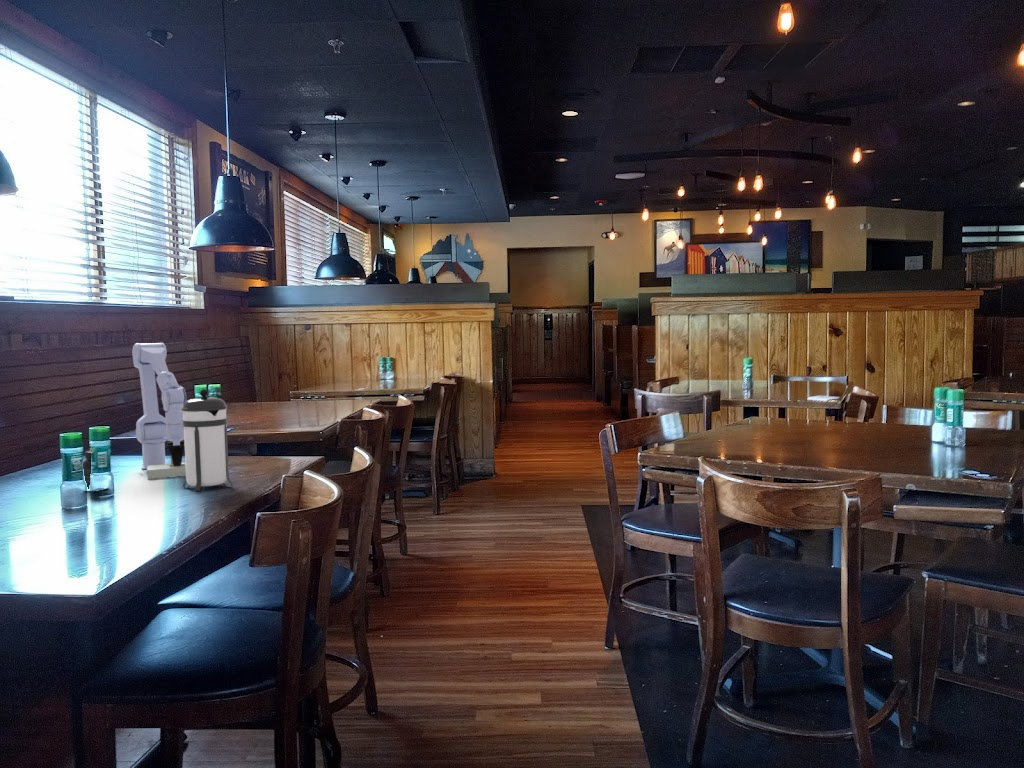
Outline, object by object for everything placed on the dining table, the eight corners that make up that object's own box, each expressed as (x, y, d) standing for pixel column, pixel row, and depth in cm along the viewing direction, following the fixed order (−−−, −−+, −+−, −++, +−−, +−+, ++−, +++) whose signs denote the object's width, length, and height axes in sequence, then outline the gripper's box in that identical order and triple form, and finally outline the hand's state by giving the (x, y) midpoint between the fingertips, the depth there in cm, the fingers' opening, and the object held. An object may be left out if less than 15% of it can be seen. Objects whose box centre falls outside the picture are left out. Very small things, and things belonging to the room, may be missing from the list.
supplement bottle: (84, 489, 231) (82, 450, 230) (109, 486, 234) (107, 448, 233) (82, 493, 224) (79, 453, 224) (108, 490, 227) (106, 451, 226)
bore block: (147, 474, 254) (147, 465, 254) (205, 469, 262) (205, 460, 261) (147, 479, 245) (147, 470, 245) (207, 474, 252) (206, 465, 252)
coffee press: (244, 482, 237) (240, 387, 235) (219, 493, 221) (215, 391, 219) (191, 482, 239) (187, 387, 237) (163, 492, 223) (158, 391, 221)
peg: (171, 472, 254) (170, 454, 253) (181, 471, 255) (180, 454, 255) (171, 474, 251) (170, 456, 251) (181, 473, 252) (180, 455, 252)
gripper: (161, 422, 257) (163, 462, 258) (162, 427, 244) (164, 468, 245) (184, 421, 260) (186, 460, 261) (185, 425, 247) (187, 466, 248)
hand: (177, 464), depth 253 cm, fingers open, 7 cm apart
